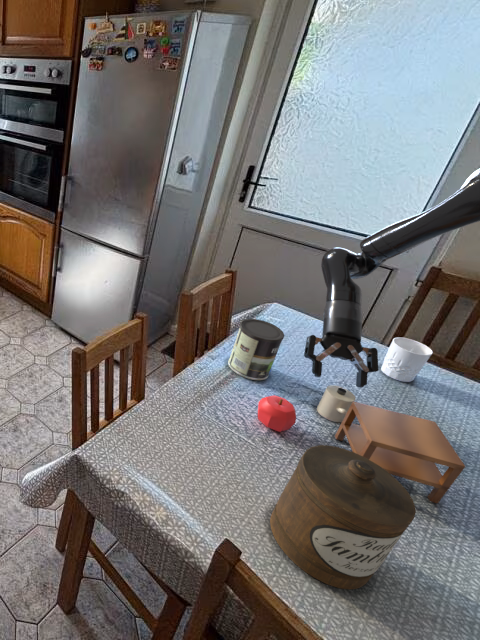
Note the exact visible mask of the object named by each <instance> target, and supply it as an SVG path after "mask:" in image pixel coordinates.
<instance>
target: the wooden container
mask: <svg viewBox="0 0 480 640" xmlns="http://www.w3.org/2000/svg"><path fill="white" fill-rule="evenodd" d="M416 511H417V510H416V504H415V502H414V499H413V498H412V496H411V494H410V493H409V491H408V490H407V488H406V487H404V485H403V484H402V483H401V482H400V481H399V480H398V479H397V478H396V477H394V475H392V474H390V473H388V472H387V471H386V470H385V469H383V468H382V467H380V466H379V465H377V464H376V463H374V462H372V461H370V460H369V459H367V458H365V457H363V456H361V455H359V454H356V453H354V452H353V451H352V450H348V449H345V448H344V447H343V448H342V447H339V446H333V445H327V444H321V445H320V444H319V445H315V446H314V445H313V446H311V447H309V448H307V449H306V450H305V452H304V453H303V454H302V456H301V457H300V459H299V460H298V463H297V465H296V468H295V469H294V471H293V473H292V475H291V477H290V478H289V480H288V482H287V483H286V485H285V486H284V488H283V490H282V492H281V493H280V496H279V498H278V500H277V503H276V504H275V506H274V508H273V510H272V512H271V515H270V518H269V526H270V530H271V533H272V536H273V537H274V539H275V541H276V543H277V544H278V546H279V548H280V549H281V550H282V551H283V553H284V554H285V555H286V556H287V558H289V559H290V560H291V562H292V563H294V564H295V565H296V566H297V567H298V568H299V569H300V570H302V571H303V572H305V573H307V574H308V575H309V576H310V577H312V578H314V579H316V580H317V581H319V582H321V583H324V584H325V585H328V586H331V587H334V588H337V589H342V590H343V589H344V590H356V589H360V588H362V587H364V586H365V585H367V583H369V581H370V580H371V578H372V577H373V576H374V574H376V572H377V571H378V570H379V568H380V567H381V566H382V565H383V563H384V562H385V561H386V559H387V558H388V557H389V555H390V554H391V552H392V550H393V549H394V547H395V546H396V544H397V543H398V542H399V540H400V538H401V537H402V535H404V532H405V531H407V530H408V528H409V526H410V525H411V523H412V522H413V521H414V519H415V516H416V514H417V513H416Z"/></svg>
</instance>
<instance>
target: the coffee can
mask: <svg viewBox="0 0 480 640" xmlns="http://www.w3.org/2000/svg"><path fill="white" fill-rule="evenodd" d="M284 338H285V333H284V331H283V330H282V329H281V328H280V327H278V326H277V325H275V324H273V323H271V322H268V321H266V320H261V319H256V318H246V319H243V320H241V321H240V323H239V327H238V332H237V334H236V338H235V341H234V343H233V347H232V350H231V352H230V356H229V359H228V361H227V364H228V367H229V368H230V369H231V370H232V371H233V372H234V373H235V374H237V375H239V376H241V377H243V378H244V379H248V380H253V381H264V380H266V379H268V378H269V376H270V372H271V370H272V367H273V365H274V362H275V360H276V356H277V354H278V351H279V349H280V346H281V344H282V343H283V342H282V341H283V340H284Z"/></svg>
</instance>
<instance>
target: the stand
mask: <svg viewBox="0 0 480 640" xmlns="http://www.w3.org/2000/svg"><path fill="white" fill-rule="evenodd" d="M355 419H357V421H358V423H359V424H357V423H356V424H355V423H353V422H354V421H355ZM334 437H335V440H336V441H340V442H343V441H344V439H345V437H346V440H347V441H348V444H349V446H350V448H351V451H352V452H354V453H356V454H359V455H361V456H363V457H365V458H367V459H369V460H370V461H372V462H374V463H376V464H377V465H379V466H380V467H382V468H383V469H385V470H386V471H387V472H388V473H390V474H391V475H392V476H396V477H399V478H402V479H404V480H405V479H406V480H408V481H412V482H416V483H419V484H422V485H426V486H429V487H433V488H432V490H431V491H430V492H429V494H428V495H427V499H428V501H429V502H430V503H434V504H439V503H440V502H441V500H442V499H443V497H444V495H446V494H447V492H448V491H449V490H450V488H451V487H452V485H453V484H454V483H455V481H456V480H457V479H458V477H459V476H460V475H461V473H462V472H463V471H464V470H465V468H466V465H465V463H464V462H463V460H462V459H461V458H460V456H459V454H458V453H457V452H456V450H455V448H454V447H453V446H452V444H451V443H450V442H449V440H448V438H447V437H446V435H445V434H444V432H443V431H442V429H441V428H440V427H439V425H438V423H437V422H436V421H433V420H430V419H425V418H421V417H417V416H413V415H409V414H406V413H403V412H399V411H398V412H397V411H394V410H389V409H386V408H382V407H377V406H373V405H371V404H365V403H363V402H359V401H358V402H357V401H353V402H352V404H351V406H350V408H349V410H348V412H347V414H346V415H345V417H344V419H343V421H342V422H340V425H339V427H338V429H337V431H336V433H335V434H334ZM437 465H441V466H444V467H448V468H447V469H446V470H445V472H444V473H443V474H442V472H441V471H440V470H439V468H438V466H437Z"/></svg>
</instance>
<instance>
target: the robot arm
mask: <svg viewBox="0 0 480 640" xmlns="http://www.w3.org/2000/svg"><path fill="white" fill-rule="evenodd" d="M478 222H479V223H480V168H478V169H477V170H475V171H474V172H473V173H471V174H470V175H469V176H468V178H466V180H465V182H463V184H462V186H461V187H460V189H458V190H457V191H455V193H453V194H451V195H450V196H449V197H447V198H446V199H445V200H443V201H441V202H440V203H438V204H436V205H435V206H432V207H431V208H429V209H427V210H425V211H423V212H421V213H418V214H416V215H413V216H410V217H407V218H404V219H401V220H399V221H396V222H393V223H392V224H389V225H387V226H385V227H384V228H381V229H379V230H377V231H376V232H373V233H372V234H370V235H367V236H366V237H365V238H363V239H362V240H361V241H360V243H359V248H360V250H361V252H359V253H357V252H354V251H352V250H349V249H347V248H344V247H332V248H329V249H328V250H327V251H326V252H325V253H324V255H323V256H322V258H321V262H320V263H321V264H320V268H321V272H322V276H323V280H324V284H325V287H326V296H325V298H326V299H325V306H324V309H323V314H322V317H323V321H322V333H321V335H322V336H321V337H317V336H316V335H315V334H311V335H309V336H307V337H306V339H305V340H306V341H305V346H304V353H303V357H304V358H305V359H308V360H310V361H311V362H312V364H311V373H312V374H313V375H314V376H313V377H315V378H321V377H322V374H323V373H322V371H323V362H322V361H323V360H324V359H326V358H327V357H330V358H334V359H340V360H342V361H349V363H350V364H351V365H352V366H354V367H355V370H356V379H355V386H356V387H357V388H364V387H365V386H367V385H368V375H369V373H370V374H371V373H374V372H375V373H376V372H379V352H378V349H377V347H365V346H363V345H362V332H363V331H362V330H363V309H362V304H363V303H362V301H363V290H362V287H361V286H360V285H359V284H357V283H356V282H355V281H354V280H358V279H362V278H366V277H367V276H369V275H371V274H372V273H373V272H374V271H376V270H377V269H378V268H379V267H381V266H382V265H383V264H384V263H385V262H387V261H388V260H389V259H392V258H395V257H396V256H399V255H401V254H403V253H405V252H408V251H410V250H412V249H414V248H416V247H418V246H420V245H422V244H424V243H426V242H428V241H431V240H434V239H435V238H438V237H440V236H442V235H444V234H448V233H450V232H453V231H455V230H458V229H461V228H464V227H466V226H470V225H472V224H475V223H478ZM318 344H320V346H321V347H322V348H323V349H322V350H321V351H319V352H318V353H317V354H314V353H315V348H316V346H317V345H318ZM360 353H363V355H364V356H365V357H366V364H365V362H364V359H363V357H361V355H360Z"/></svg>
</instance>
